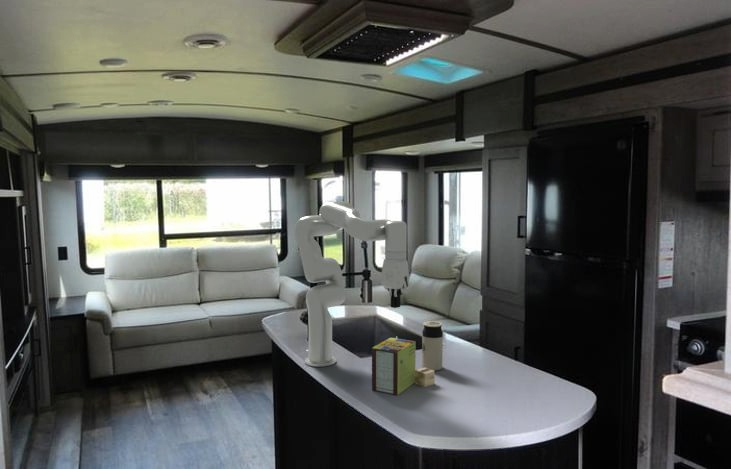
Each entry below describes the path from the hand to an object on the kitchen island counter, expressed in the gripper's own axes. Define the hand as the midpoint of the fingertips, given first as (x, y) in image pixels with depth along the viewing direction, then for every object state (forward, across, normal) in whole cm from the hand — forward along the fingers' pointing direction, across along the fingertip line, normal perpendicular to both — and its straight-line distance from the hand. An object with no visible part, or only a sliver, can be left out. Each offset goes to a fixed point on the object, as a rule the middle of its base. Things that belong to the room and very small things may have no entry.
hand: (395, 307), depth 195 cm
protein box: (+29, 0, 0) cm, 29 cm away
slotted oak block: (+29, +5, +10) cm, 31 cm away
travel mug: (+29, -5, +25) cm, 39 cm away
